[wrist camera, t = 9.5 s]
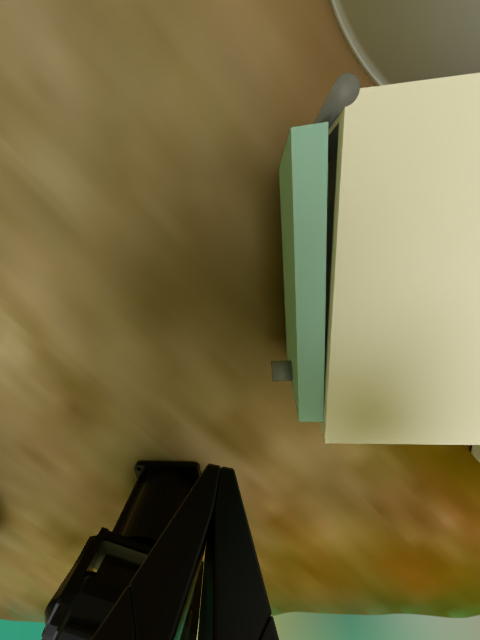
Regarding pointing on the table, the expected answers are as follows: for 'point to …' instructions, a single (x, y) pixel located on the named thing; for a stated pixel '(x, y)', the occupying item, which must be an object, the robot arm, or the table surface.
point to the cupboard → (403, 262)
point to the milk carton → (476, 452)
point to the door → (304, 265)
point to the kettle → (411, 37)
